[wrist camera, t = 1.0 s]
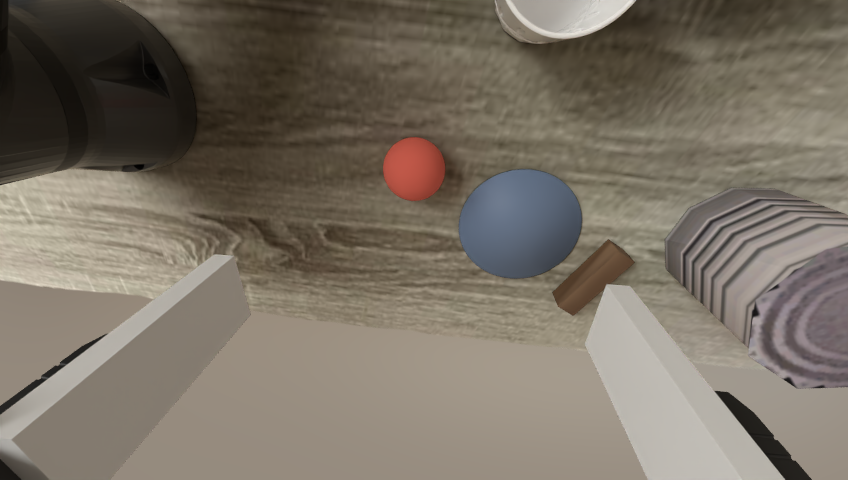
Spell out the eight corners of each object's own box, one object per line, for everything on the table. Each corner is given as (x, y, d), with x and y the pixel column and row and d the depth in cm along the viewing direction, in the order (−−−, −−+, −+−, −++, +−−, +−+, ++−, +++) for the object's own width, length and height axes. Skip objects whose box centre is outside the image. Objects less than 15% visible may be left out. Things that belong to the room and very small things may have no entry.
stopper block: (552, 292, 36) (558, 306, 33) (608, 239, 32) (618, 251, 30) (566, 301, 36) (573, 315, 34) (623, 249, 32) (634, 262, 30)
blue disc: (436, 240, 35) (436, 241, 34) (508, 143, 29) (508, 144, 29) (526, 295, 36) (526, 296, 36) (608, 213, 31) (609, 214, 31)
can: (662, 300, 35) (749, 398, 24) (659, 203, 30) (764, 271, 19) (792, 278, 32) (956, 378, 21) (810, 168, 27) (1028, 225, 17)
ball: (380, 170, 32) (364, 187, 27) (408, 120, 29) (396, 129, 25) (427, 200, 33) (420, 221, 28) (458, 154, 30) (456, 168, 25)
